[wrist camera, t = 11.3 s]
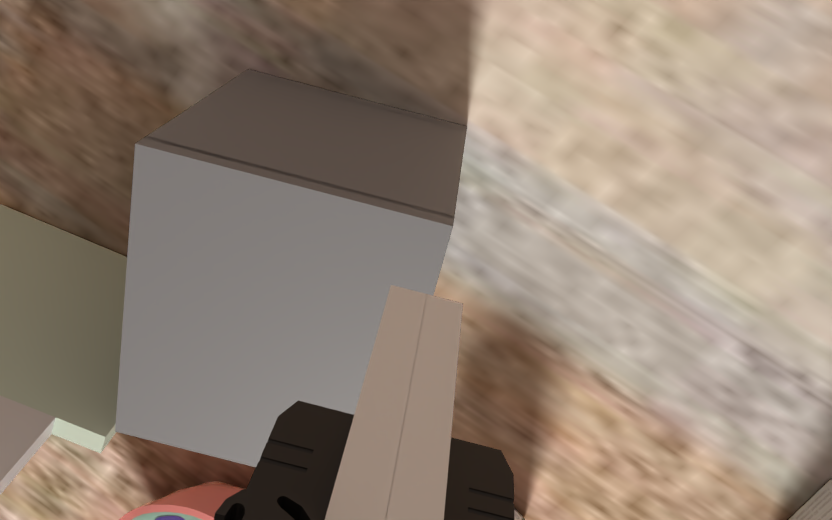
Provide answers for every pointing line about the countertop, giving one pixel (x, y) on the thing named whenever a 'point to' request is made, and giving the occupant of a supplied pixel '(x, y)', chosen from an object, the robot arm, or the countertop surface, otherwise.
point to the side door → (56, 339)
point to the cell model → (186, 503)
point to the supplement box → (817, 505)
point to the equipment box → (272, 256)
